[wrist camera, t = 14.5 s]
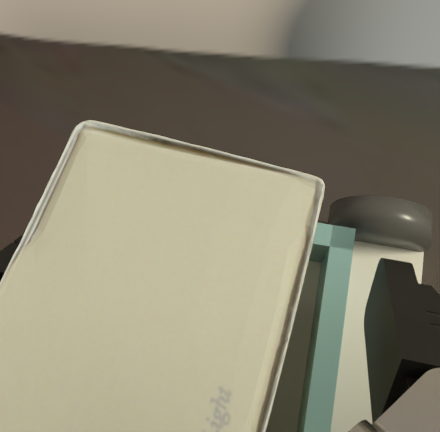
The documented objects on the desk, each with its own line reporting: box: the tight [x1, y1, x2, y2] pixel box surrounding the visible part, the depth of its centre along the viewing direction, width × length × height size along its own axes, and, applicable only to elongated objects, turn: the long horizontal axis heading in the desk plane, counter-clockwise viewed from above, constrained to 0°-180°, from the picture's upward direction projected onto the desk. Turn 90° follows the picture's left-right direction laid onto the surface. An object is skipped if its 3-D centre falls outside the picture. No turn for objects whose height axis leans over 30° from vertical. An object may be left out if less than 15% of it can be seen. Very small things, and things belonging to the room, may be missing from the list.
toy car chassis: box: [266, 195, 433, 432], centre depth 16 cm, size 14×13×4 cm
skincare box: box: [0, 120, 325, 432], centre depth 11 cm, size 6×4×12 cm
